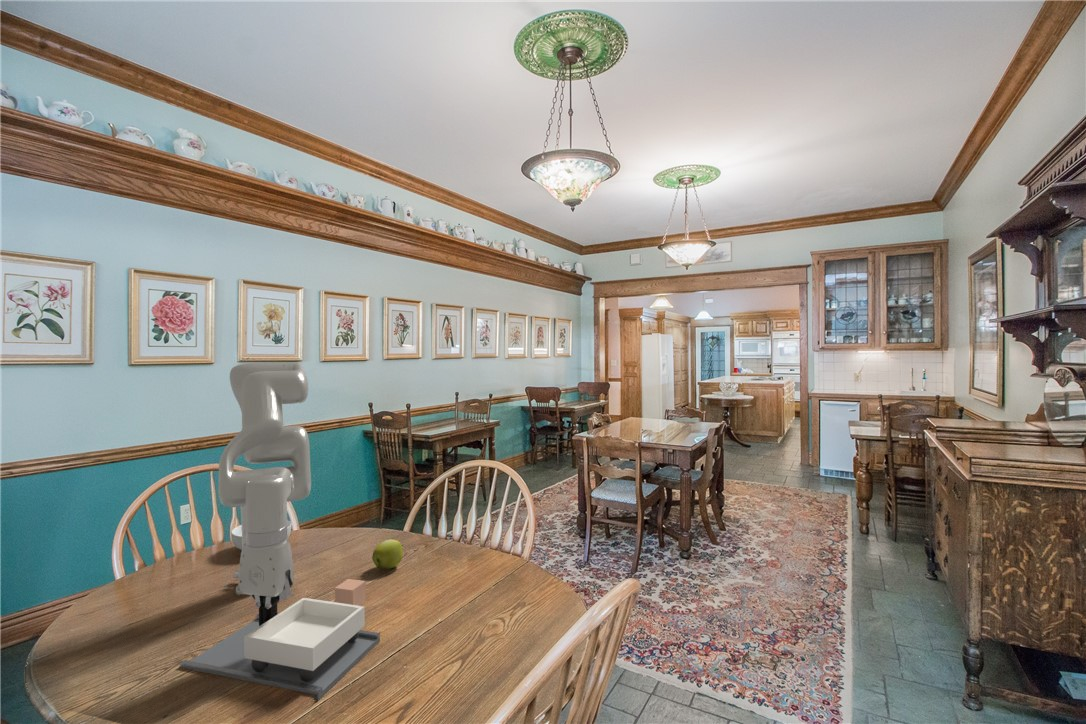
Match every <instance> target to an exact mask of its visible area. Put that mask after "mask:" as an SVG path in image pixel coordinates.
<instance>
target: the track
mask: <svg viewBox="0 0 1086 724" xmlns="http://www.w3.org/2000/svg"><path fill="white" fill-rule="evenodd" d="M258 627H259V613H258V614H257V615H255V617H254V619H253V621H251V622H249V623H248V624H246V625H245V626H243V627H241V628H240V629H238V630H237V631H235V632H234V633H232V634H229V636H226V637H225V638H223V639H222V640H221V641H219V642H218V643H216V644H215V645H214V644H213V646H211V647H209V648H208V649H207V650H205V651H203V652H201V653H200V654H198V655H196V656H195V657H194V658H192V659H190V660H189V659H188V660H187V659H185V660H182V661H180V662H179V668H181V669H187V670H193V671H197V672H201V673H206V674H212V675H216V676H221V677H226V678H232V679H236V680H242V681H246V682H251V683H256V684H261V685H266V686H271V687H275V688H281V689H286V690H290V691H296V692H301V693H306V694H309V695H315V697H313V701H320V700H321V699H322V698H323V697H324V696H325V695H326V694H327V693H328V692H329V691H330V690H331V689H333V687H335V685H336V684H337V683H339V681H340V680H342V679H343V678H344V676H345V675H347V674H348V673H349V672H350V671H351V670H352V669H353V668H354V667H355V666H356V665H357V664H358V663H359V662H360V661H361V660H362V659H363V658H364V657H366V655H367V654H369V653H370V651H371V650H372V649H374V648H375V647H376V646H377V645H378V644H379V643H380V641H381V638H380V637H381V634H380V632H377V631H376V632H374V631H369V630H365V629H364V630H363V629H361V630H360V631H359V637H358V638H357V639H356V640H355V641H354V642H348V641H347V642H346V643H345V644H344V645H342V646H341V647H340V648H339V649H338V650H337V651H335V652H334V653H333V654H332V655H331V656H330V657H329V658H327V659H326V660H325V661H324V662H323V663H322V664H321V665H319V666H318V667H317V668H316V675H315V676H314V677H313V678H312V679H311V680H310V681H308V682H305V681H303V680H302V679H301V678H300V675H299V671H300V668H295V667H290V666H284V665H279V664H274V663H268V666H267V667H266V668H265V669H264V670H262V671H261V672H256V671H254V669H253V668H252V664H251V663H252V659H247V658H245V657H244V636H245V635H247V634H248V633H250V632H252V631H253V630H255V629H256V628H258Z"/></svg>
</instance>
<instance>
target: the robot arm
mask: <svg viewBox="0 0 1086 724" xmlns="http://www.w3.org/2000/svg"><path fill="white" fill-rule="evenodd" d="M229 383H230V386H231V391H232V393H233V395H234V398H235V399H236V401H237V404H238V405H239V406H238V407H239V408H240V411H241V426H242V427H241V430H240V431H239V432H238V433H237V434H235V436H234V437H233V438H232V439H230V441H229V442H228V443H227V445H226V446H225V448H224V449H223V452H222V454H221V456H220V458H219V462H218V463H219V464H218V482H217V485H218V491H217V492H218V498H219V501H220V504H222V505H223V507H227V508H240V519H241V525H242V550H241V552H240V559H239V566H238V568H237V569H236V571H235V572H234V573H233V575H232V577H233V578H234V579H238V584H237V585H236V587H235V594H236V595H237V596H240V595H247V596H250V597H252V598H253V600H254V602H255V606H256V608H258V614H259V626H261V625H262V624H264V623H265V622H267V621H268V620H270V619H271V618H273V617H275V616H276V615H278V604H279V603H280V602H281V601H283V600H287V599H289V598H291V596H292V590H291V588H293V585H294V579H295V577H294V575H295V573H294V561H293V554H292V553H293V552H292V547H291V544H290V541H289V540H288V539H287V520H288V502H296V501H300V500H304V499H306V498H307V497H308V496H310V493H311V489H312V473H311V453H310V452H311V449H310V439H309V438H310V437H309V435H308V432H307V430H306V429H305V428H304V427H303V426H300V425H287V426H285V425H284V414H283V405H287V404H289V405H293V404H302V403H304V402H306V400H307V398H308V394H309V381H308V378H307V375H306V372H305V369H304V367H303V366H302V365H301V363H299V362H248V363H240V364H237V365H235V366H232V368H231V369H230V371H229ZM242 455H243V457H244V460H245V461H246V462H247V463H248V464H253V465H254V464H257V465H258V464H270V463H280V462H281V463H282V462H290V463H291V464H292V465H287V466H286V465H285V466H277V467H273V466H272V467H266V468H254V469H247V470H237V471H234V465H235V464H236V461H237V460H238V458H240V457H241V456H242Z"/></svg>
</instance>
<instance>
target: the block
mask: <svg viewBox="0 0 1086 724" xmlns="http://www.w3.org/2000/svg"><path fill="white" fill-rule="evenodd" d="M366 586H367V585H366V580H360V579H351V578H348V579H345V580H344V581H342V583H340V584H338V585H337V586H336V587H334V602H337V603H344V604H350V605H357V606H362V605H363V604H364V603H365V602H366V601H367V599H366V598H367V597H366V596H367V594H366V593H367V592H366V588H367V587H366Z"/></svg>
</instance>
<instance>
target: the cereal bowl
mask: <svg viewBox="0 0 1086 724" xmlns="http://www.w3.org/2000/svg"><path fill="white" fill-rule="evenodd" d="M292 527H293V525H292V522H291V521H290V520H288V519H287V540H288V539H289V537H290V535H291V532H292ZM230 535H231V536H230V538H231V542H232V544H233V546H235V548H237V549H239V550H241V551H242V524H240V525H238V526H236V527H234V528H233V529H232V530H231V532H230Z"/></svg>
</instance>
